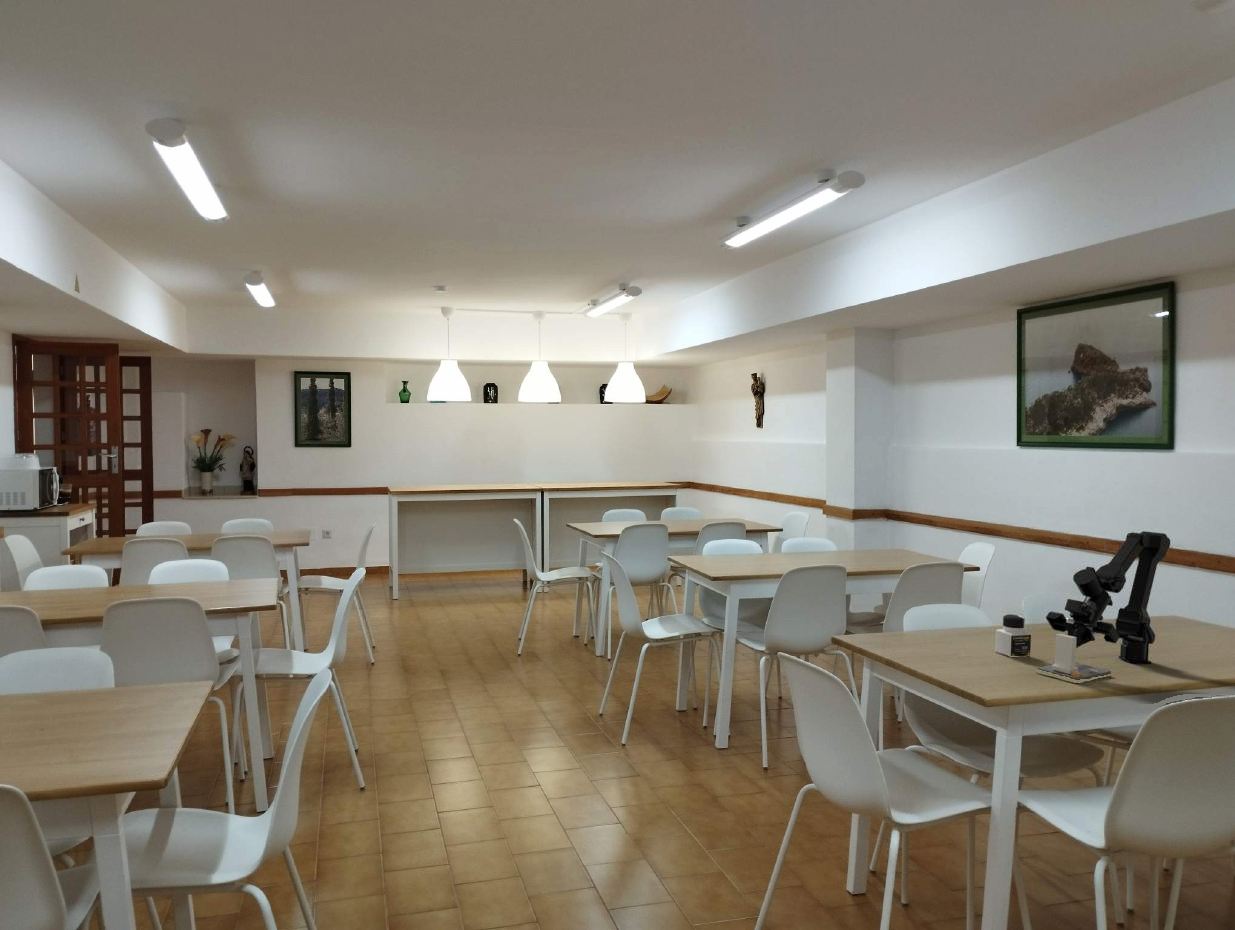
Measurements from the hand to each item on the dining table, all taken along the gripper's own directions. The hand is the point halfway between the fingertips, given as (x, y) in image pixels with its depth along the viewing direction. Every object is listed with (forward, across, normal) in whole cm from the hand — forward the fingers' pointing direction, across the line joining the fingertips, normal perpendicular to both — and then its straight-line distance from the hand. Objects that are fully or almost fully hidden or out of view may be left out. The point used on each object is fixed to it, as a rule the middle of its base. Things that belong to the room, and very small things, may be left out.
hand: (1068, 650), depth 248 cm
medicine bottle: (0, -22, +11) cm, 25 cm away
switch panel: (+3, 0, +7) cm, 8 cm away
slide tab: (+5, 0, +3) cm, 6 cm away
